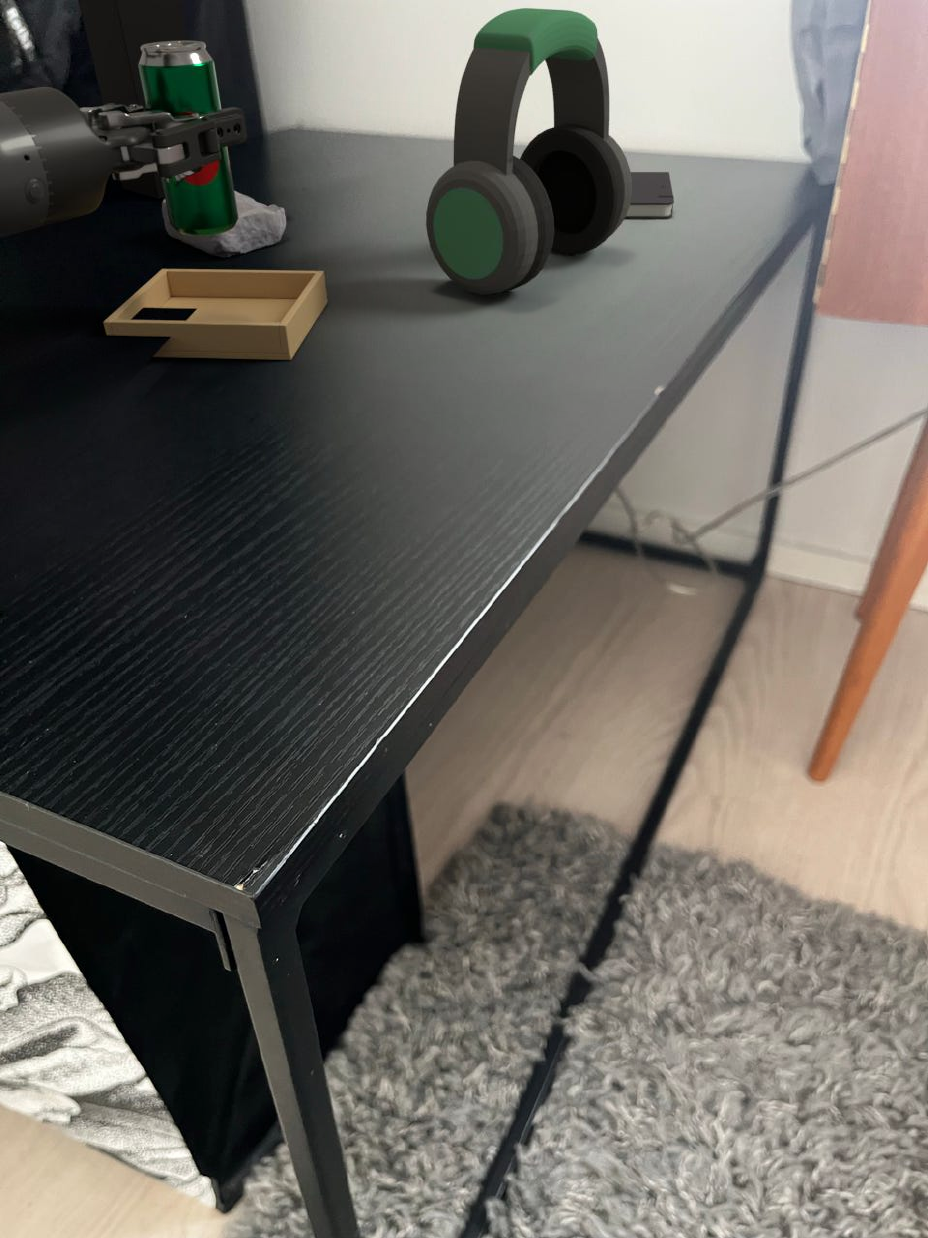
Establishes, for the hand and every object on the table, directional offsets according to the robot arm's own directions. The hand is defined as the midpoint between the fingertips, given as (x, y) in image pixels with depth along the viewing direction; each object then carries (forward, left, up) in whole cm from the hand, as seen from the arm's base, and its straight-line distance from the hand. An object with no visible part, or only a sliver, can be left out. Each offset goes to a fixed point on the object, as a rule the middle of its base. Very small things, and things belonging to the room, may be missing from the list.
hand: (214, 119), depth 69 cm
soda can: (-1, -2, -7) cm, 8 cm away
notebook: (+26, +36, -15) cm, 47 cm away
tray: (-1, -2, -15) cm, 15 cm away
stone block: (-8, +22, -15) cm, 28 cm away
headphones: (+23, +13, -15) cm, 30 cm away
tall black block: (-22, +41, -15) cm, 49 cm away
